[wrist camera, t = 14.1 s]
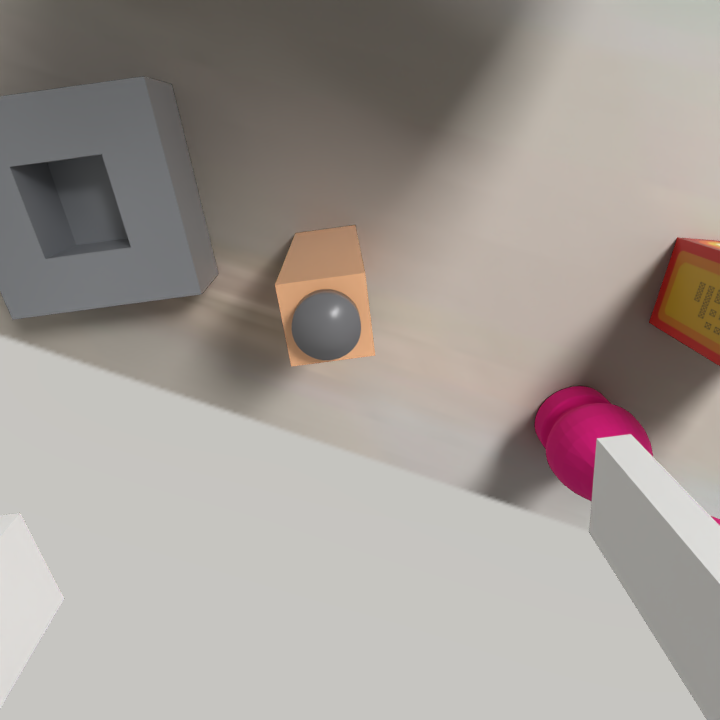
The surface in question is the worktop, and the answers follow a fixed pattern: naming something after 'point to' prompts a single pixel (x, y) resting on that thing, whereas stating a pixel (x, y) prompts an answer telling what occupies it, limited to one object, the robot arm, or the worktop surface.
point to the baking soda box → (692, 297)
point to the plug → (325, 298)
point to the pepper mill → (582, 434)
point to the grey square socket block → (98, 200)
